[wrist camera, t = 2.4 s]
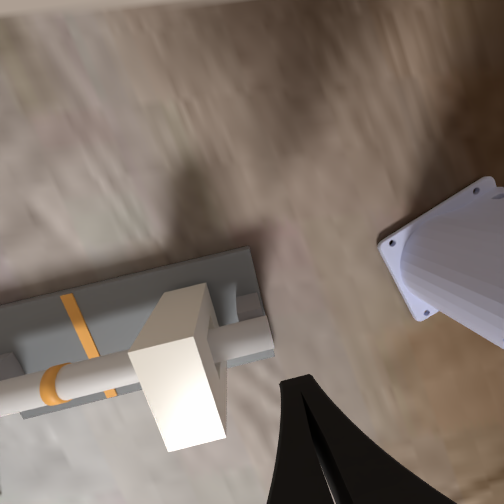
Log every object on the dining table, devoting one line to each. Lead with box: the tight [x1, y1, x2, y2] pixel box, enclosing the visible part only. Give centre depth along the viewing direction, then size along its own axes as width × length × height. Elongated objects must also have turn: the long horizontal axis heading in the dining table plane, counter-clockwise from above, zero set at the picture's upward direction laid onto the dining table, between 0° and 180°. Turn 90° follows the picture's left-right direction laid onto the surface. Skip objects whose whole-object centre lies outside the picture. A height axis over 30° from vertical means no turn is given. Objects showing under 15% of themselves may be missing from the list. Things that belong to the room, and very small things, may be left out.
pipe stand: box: [0, 246, 275, 419], centre depth 17 cm, size 20×9×6 cm, turn 103°
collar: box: [128, 283, 227, 452], centre depth 16 cm, size 3×6×7 cm, turn 13°
